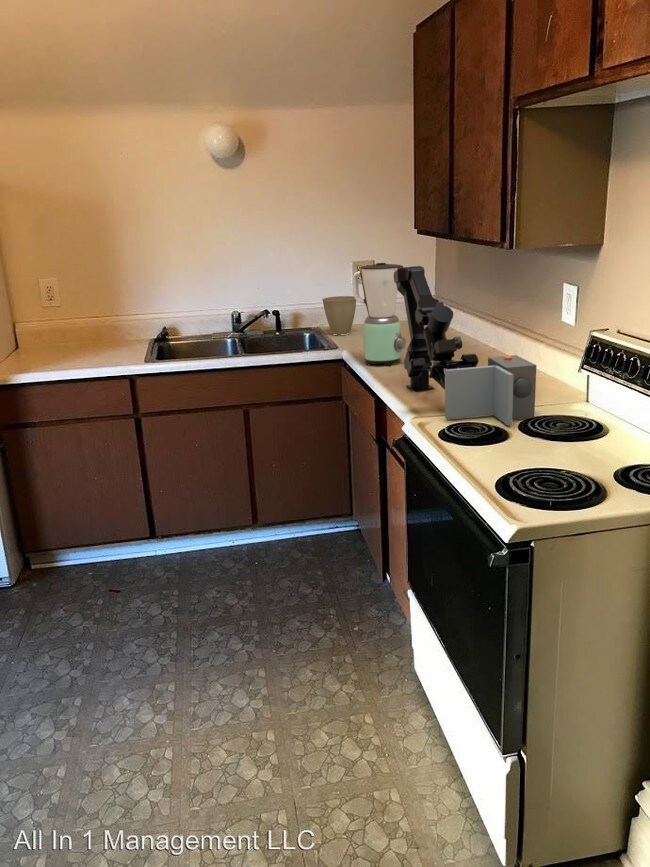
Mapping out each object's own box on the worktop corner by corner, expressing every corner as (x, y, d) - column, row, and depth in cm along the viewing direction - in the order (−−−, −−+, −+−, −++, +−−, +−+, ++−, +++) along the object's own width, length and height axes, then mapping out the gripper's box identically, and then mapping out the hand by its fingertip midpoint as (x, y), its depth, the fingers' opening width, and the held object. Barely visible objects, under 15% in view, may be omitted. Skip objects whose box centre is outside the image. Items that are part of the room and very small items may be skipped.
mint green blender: (411, 360, 259) (410, 261, 248) (397, 368, 248) (395, 265, 237) (363, 357, 267) (360, 261, 256) (348, 365, 256) (344, 265, 245)
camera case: (486, 407, 197) (487, 354, 193) (514, 404, 198) (516, 352, 194) (506, 421, 184) (508, 365, 179) (536, 419, 185) (538, 363, 180)
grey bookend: (444, 417, 189) (444, 369, 185) (494, 412, 191) (496, 364, 187) (458, 430, 178) (458, 379, 174) (512, 424, 180) (513, 374, 176)
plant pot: (364, 333, 314) (363, 297, 309) (338, 338, 306) (336, 301, 301) (343, 330, 325) (342, 294, 320) (317, 334, 317) (315, 298, 312)
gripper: (409, 329, 189) (420, 379, 183) (477, 324, 192) (490, 373, 185) (402, 352, 199) (413, 401, 193) (466, 347, 202) (479, 395, 195)
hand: (449, 392), depth 191 cm, fingers closed
